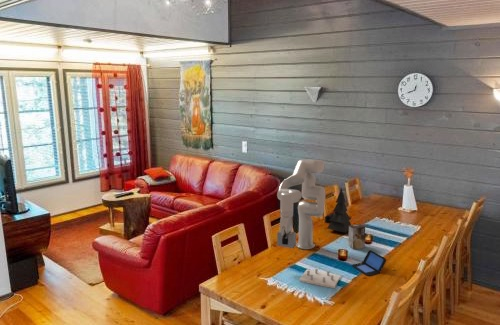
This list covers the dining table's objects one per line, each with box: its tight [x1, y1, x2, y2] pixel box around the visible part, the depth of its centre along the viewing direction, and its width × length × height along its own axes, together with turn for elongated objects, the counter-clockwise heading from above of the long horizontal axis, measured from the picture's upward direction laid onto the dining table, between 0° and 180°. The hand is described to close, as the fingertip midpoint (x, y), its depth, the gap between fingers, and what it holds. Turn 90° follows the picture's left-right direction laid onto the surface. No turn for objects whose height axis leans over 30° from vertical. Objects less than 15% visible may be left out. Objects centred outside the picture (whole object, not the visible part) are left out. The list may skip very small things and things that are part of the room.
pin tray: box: [298, 268, 341, 289], centre depth 224 cm, size 14×20×4 cm
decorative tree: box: [326, 187, 352, 233], centre depth 294 cm, size 15×15×35 cm
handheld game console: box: [351, 249, 387, 277], centre depth 235 cm, size 16×13×9 cm
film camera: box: [323, 212, 335, 224], centre depth 319 cm, size 15×10×9 cm, turn 90°
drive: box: [276, 230, 297, 249], centre depth 234 cm, size 5×10×8 cm, turn 64°
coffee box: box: [347, 223, 366, 250], centre depth 266 cm, size 9×6×16 cm
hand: (286, 242), depth 234 cm, fingers closed on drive, 5 cm apart
